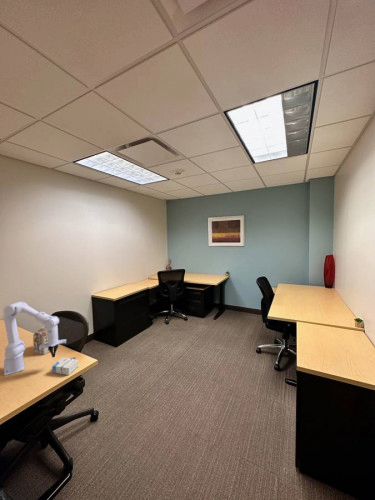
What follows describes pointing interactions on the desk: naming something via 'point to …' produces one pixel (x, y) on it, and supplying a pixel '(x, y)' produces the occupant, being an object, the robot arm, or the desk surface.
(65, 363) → the ink box
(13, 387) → the desk surface
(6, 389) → the desk surface
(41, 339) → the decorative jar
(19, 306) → the robot arm
